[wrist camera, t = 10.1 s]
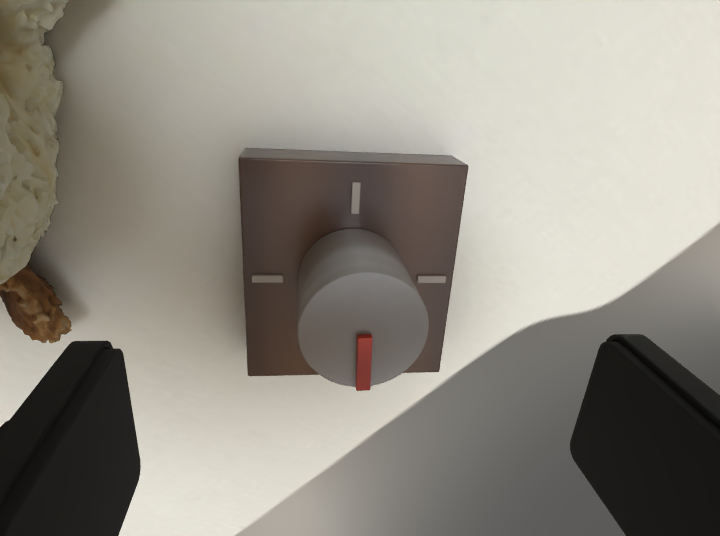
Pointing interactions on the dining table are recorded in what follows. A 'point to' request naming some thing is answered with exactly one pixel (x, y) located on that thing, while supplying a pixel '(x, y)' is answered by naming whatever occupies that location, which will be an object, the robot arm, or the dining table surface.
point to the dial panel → (337, 212)
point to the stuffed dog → (28, 162)
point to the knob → (358, 310)
